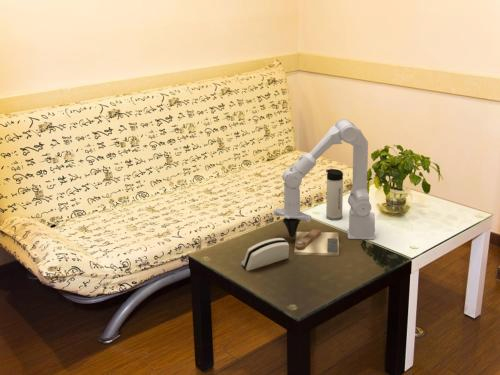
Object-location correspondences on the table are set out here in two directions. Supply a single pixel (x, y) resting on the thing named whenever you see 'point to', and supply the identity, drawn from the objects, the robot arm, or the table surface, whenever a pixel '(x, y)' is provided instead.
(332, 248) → the keeper
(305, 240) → the link
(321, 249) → the latch board
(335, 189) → the travel mug
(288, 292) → the table surface
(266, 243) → the white pencil case
